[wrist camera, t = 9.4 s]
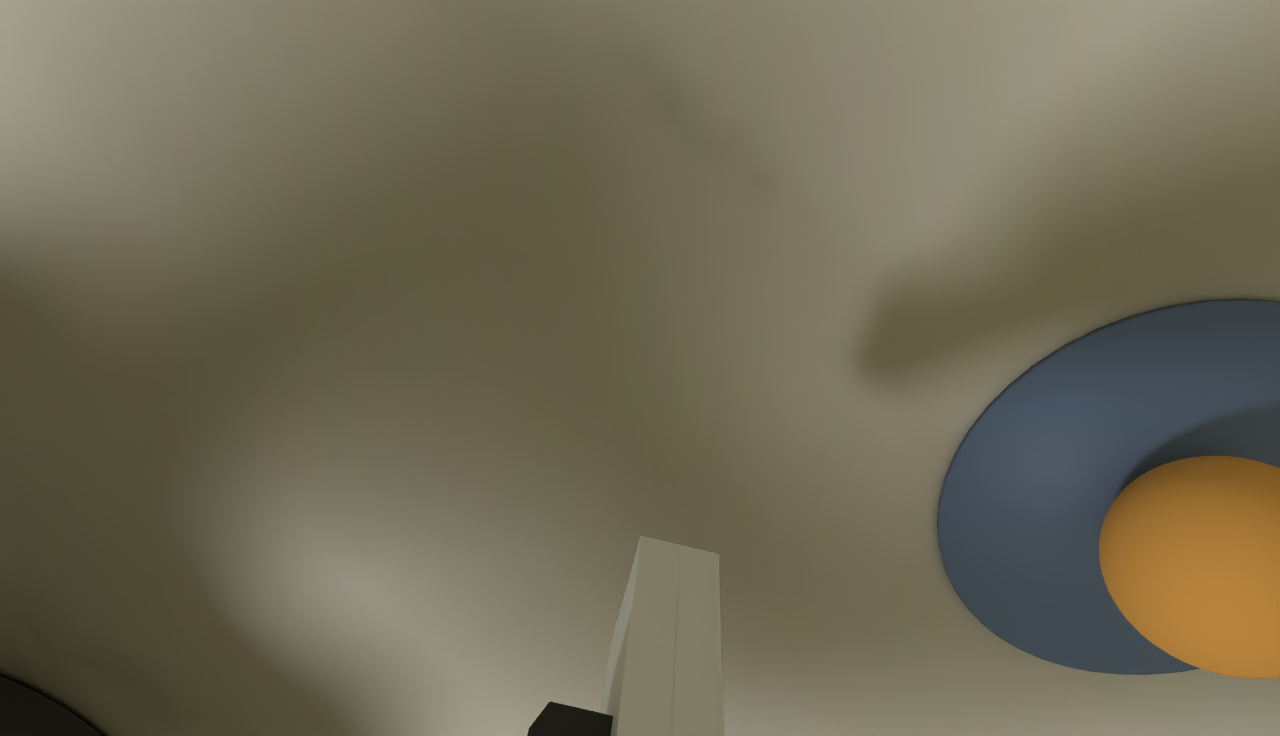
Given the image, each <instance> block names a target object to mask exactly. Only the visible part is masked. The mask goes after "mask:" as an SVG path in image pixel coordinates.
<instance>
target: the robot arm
mask: <svg viewBox="0 0 1280 736" xmlns="http://www.w3.org/2000/svg"><path fill="white" fill-rule="evenodd" d="M0 736H101V735H100V734H99V733H97V732H96V731H95V730H94V729H93V728H91V727H90V726H89V725H87V724H86V723H85V722H83V721H82V720H81V719H79V718H78V717H76V716H75V715H74V714H72V713H71V712H69V711H68V710H66V709H64V708H63V707H61V706H60V705H58V704H56V703H55V702H53V701H51V700H49V699H48V698H46V697H44V696H42V695H40V694H38V693H36V692H35V691H33V690H31V689H29V688H26V687H24V686H22V685H20V684H18V683H16V682H13V681H11V680H8V679H6V678H3V677H1V676H0ZM527 736H724V724H723V687H722V649H721V612H720V574H719V554H718V553H714V552H709V551H705V550H701V549H697V548H692V547H688V546H684V545H679V544H675V543H671V542H667V541H662V540H658V539H654V538H649V537H645V536H641V537H640V541H639V544H638V548H637V551H636V555H635V558H634V562H633V565H632V569H631V572H630V576H629V579H628V583H627V586H626V590H625V593H624V597H623V600H622V604H621V607H620V611H619V614H618V618H617V621H616V625H615V628H614V632H613V635H612V638H611V644H610V651H609V657H608V664H607V671H606V677H605V684H604V691H603V698H602V704H601V711H600V713H598V712H594V711H589V710H585V709H580V708H576V707H572V706H567V705H563V704H558V703H554V702H549V703H548V705H547V706H546V707H545V708H544V710H543V711H542V712H541V714H540V715H539V716H538V717H537V719H536V720H535V721H534V723H533V724H532V725H531V726H530V728H529V731H528V735H527Z"/></svg>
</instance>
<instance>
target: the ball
mask: <svg viewBox="0 0 1280 736" xmlns="http://www.w3.org/2000/svg"><path fill="white" fill-rule="evenodd" d="M1099 561H1100V566H1101V571H1102V575H1103V578H1104V581H1105V583H1106V586H1107V589H1108V591H1109V593H1110V595H1111V597H1112V598H1113V600H1114V602H1115V604H1116V605H1117V607H1118V609H1119V610H1120V611H1121V613H1122V614H1123V615H1124V617H1125V618H1126V619H1127V620H1128V621H1129V622H1130V623H1131V624H1132V625H1133V626H1134V627H1135V628H1136V629H1137V630H1138V631H1139V633H1140V634H1141V635H1143V636H1144V637H1145V638H1146V639H1148V640H1149V641H1150V642H1151V643H1153V644H1154V645H1156V646H1157V647H1159V648H1160V649H1162V650H1163V651H1165V652H1166V653H1168V654H1169V655H1171V656H1173V657H1175V658H1177V659H1179V660H1181V661H1183V662H1185V663H1188V664H1190V665H1193V666H1195V667H1198V668H1200V669H1203V670H1207V671H1210V672H1213V673H1217V674H1222V675H1226V676H1231V677H1240V678H1256V679H1263V678H1277V677H1280V468H1278V467H1275V466H1272V465H1269V464H1266V463H1262V462H1259V461H1256V460H1251V459H1246V458H1241V457H1231V456H1200V457H1191V458H1185V459H1180V460H1176V461H1173V462H1169V463H1166V464H1163V465H1161V466H1159V467H1156V468H1154V469H1152V470H1150V471H1148V472H1146V473H1144V474H1143V475H1141V476H1139V477H1138V478H1137V479H1135V480H1134V481H1132V482H1131V483H1130V484H1129V485H1128V486H1127V487H1126V488H1125V489H1124V490H1123V491H1122V492H1121V493H1120V494H1119V495H1118V497H1117V498H1116V499H1115V501H1114V502H1113V503H1112V505H1111V506H1110V508H1109V510H1108V512H1107V514H1106V516H1105V519H1104V522H1103V525H1102V528H1101V532H1100V539H1099Z"/></svg>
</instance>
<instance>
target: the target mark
mask: <svg viewBox="0 0 1280 736" xmlns="http://www.w3.org/2000/svg"><path fill="white" fill-rule="evenodd" d="M1200 456H1231V457H1241V458H1246V459H1251V460H1256V461H1259V462H1262V463H1266V464H1269V465H1272V466H1275V467H1278V468H1280V302H1276V301H1260V300H1243V299H1235V300H1217V301H1201V302H1195V303H1189V304H1183V305H1177V306H1171V307H1165V308H1162V309H1158V310H1154V311H1151V312H1147V313H1143V314H1140V315H1136V316H1132V317H1129V318H1126V319H1124V320H1121V321H1118V322H1116V323H1113V324H1111V325H1108V326H1105V327H1103V328H1100V329H1098V330H1095V331H1093V332H1091V333H1089V334H1087V335H1085V336H1083V337H1081V338H1079V339H1077V340H1075V341H1073V342H1071V343H1069V344H1067V345H1065V346H1063V347H1062V348H1060V349H1059V350H1057V351H1056V352H1054V353H1052V354H1051V355H1049V356H1048V357H1046V358H1045V359H1043V360H1042V361H1040V362H1038V363H1037V364H1035V365H1034V366H1033V367H1031V368H1030V369H1029V370H1028V371H1026V372H1025V373H1024V374H1023V375H1021V376H1020V377H1019V378H1018V379H1016V380H1015V381H1014V382H1013V383H1011V384H1010V385H1009V386H1008V387H1007V388H1006V389H1005V390H1004V391H1003V392H1002V393H1001V394H1000V395H999V396H998V397H997V398H996V399H995V400H994V401H993V402H992V403H991V404H990V405H989V406H988V407H987V408H986V409H985V411H984V412H983V413H982V414H981V416H980V417H979V418H978V420H977V421H976V422H975V423H974V425H973V426H972V427H971V429H970V430H969V431H968V433H967V435H966V436H965V438H964V440H963V441H962V443H961V445H960V446H959V448H958V450H957V451H956V453H955V455H954V457H953V460H952V462H951V465H950V467H949V469H948V472H947V474H946V477H945V480H944V484H943V488H942V492H941V496H940V500H939V508H938V520H937V528H938V540H939V548H940V552H941V555H942V559H943V563H944V567H945V569H946V572H947V574H948V576H949V578H950V580H951V582H952V585H953V587H954V589H955V591H956V592H957V594H958V595H959V597H960V598H961V600H962V601H963V602H964V604H965V605H966V607H967V608H968V609H969V610H970V611H971V612H972V613H973V614H974V616H975V617H976V618H977V619H978V620H979V621H980V622H981V623H982V624H983V625H985V626H986V627H987V628H988V629H990V630H991V631H992V632H993V633H995V634H996V635H997V636H999V637H1000V638H1001V639H1003V640H1005V641H1007V642H1008V643H1010V644H1012V645H1013V646H1015V647H1017V648H1019V649H1020V650H1023V651H1025V652H1027V653H1029V654H1032V655H1034V656H1036V657H1039V658H1041V659H1044V660H1047V661H1050V662H1053V663H1057V664H1060V665H1063V666H1067V667H1071V668H1077V669H1082V670H1087V671H1092V672H1101V673H1111V674H1142V675H1148V674H1161V673H1174V672H1182V671H1188V670H1194V669H1200V668H1198V667H1195V666H1193V665H1190V664H1188V663H1185V662H1183V661H1181V660H1179V659H1177V658H1175V657H1173V656H1171V655H1169V654H1168V653H1166V652H1165V651H1163V650H1162V649H1160V648H1159V647H1157V646H1156V645H1154V644H1153V643H1151V642H1150V641H1149V640H1148V639H1146V638H1145V637H1144V636H1143V635H1141V634H1140V633H1139V631H1138V630H1137V629H1136V628H1135V627H1134V626H1133V625H1132V624H1131V623H1130V622H1129V621H1128V620H1127V619H1126V618H1125V617H1124V615H1123V614H1122V613H1121V611H1120V610H1119V609H1118V607H1117V605H1116V604H1115V602H1114V600H1113V598H1112V597H1111V595H1110V593H1109V591H1108V589H1107V586H1106V583H1105V581H1104V578H1103V575H1102V571H1101V566H1100V561H1099V539H1100V532H1101V528H1102V525H1103V522H1104V519H1105V516H1106V514H1107V512H1108V510H1109V508H1110V506H1111V505H1112V503H1113V502H1114V501H1115V499H1116V498H1117V497H1118V495H1119V494H1120V493H1121V492H1122V491H1123V490H1124V489H1125V488H1126V487H1127V486H1128V485H1129V484H1130V483H1131V482H1132V481H1134V480H1135V479H1137V478H1138V477H1139V476H1141V475H1143V474H1144V473H1146V472H1148V471H1150V470H1152V469H1154V468H1156V467H1159V466H1161V465H1163V464H1166V463H1169V462H1173V461H1176V460H1180V459H1185V458H1191V457H1200Z"/></svg>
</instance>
